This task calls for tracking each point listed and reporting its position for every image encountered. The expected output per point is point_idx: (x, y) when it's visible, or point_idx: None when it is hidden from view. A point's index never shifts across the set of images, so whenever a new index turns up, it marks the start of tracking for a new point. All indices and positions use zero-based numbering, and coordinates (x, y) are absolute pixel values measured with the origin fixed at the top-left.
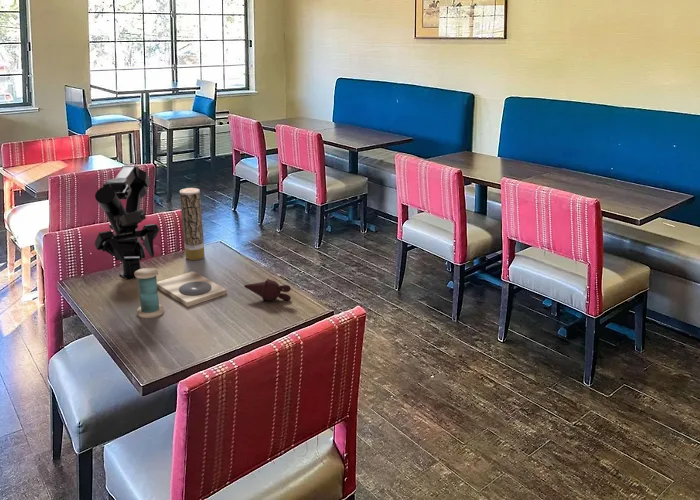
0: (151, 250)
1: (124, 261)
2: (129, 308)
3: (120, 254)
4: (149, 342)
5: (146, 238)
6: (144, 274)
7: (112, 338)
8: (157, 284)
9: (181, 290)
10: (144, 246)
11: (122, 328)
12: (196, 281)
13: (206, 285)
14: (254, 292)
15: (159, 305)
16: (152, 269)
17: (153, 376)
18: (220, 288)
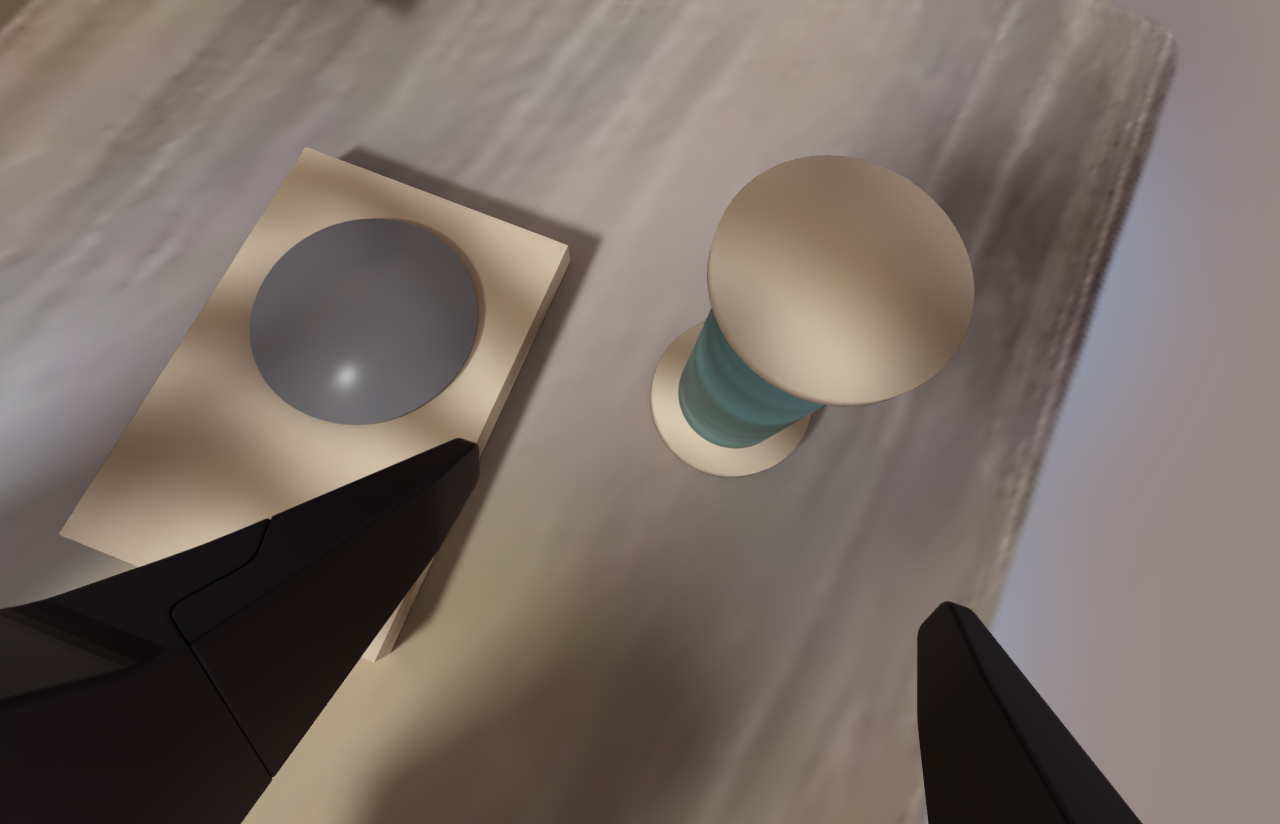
0: (418, 482)
1: (960, 607)
2: (749, 558)
3: (1060, 741)
4: (968, 193)
5: (71, 810)
6: (901, 245)
7: (1048, 374)
8: (394, 621)
9: (438, 372)
10: (258, 794)
11: (948, 406)
12: (247, 386)
13: (299, 275)
14: None
15: (669, 375)
16: (749, 259)
17: (1134, 24)
18: (305, 183)
